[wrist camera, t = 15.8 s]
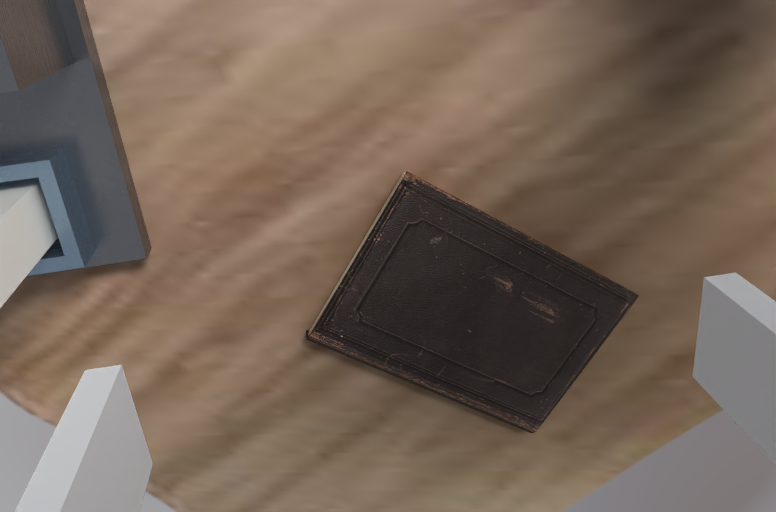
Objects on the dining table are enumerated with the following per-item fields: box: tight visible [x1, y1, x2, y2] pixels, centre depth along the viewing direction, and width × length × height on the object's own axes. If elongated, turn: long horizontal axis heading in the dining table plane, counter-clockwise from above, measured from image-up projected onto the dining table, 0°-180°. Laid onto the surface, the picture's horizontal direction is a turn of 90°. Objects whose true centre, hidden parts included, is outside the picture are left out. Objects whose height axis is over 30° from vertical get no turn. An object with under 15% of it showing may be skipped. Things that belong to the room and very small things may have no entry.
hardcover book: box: [306, 172, 639, 433], centre depth 56 cm, size 16×23×2 cm
